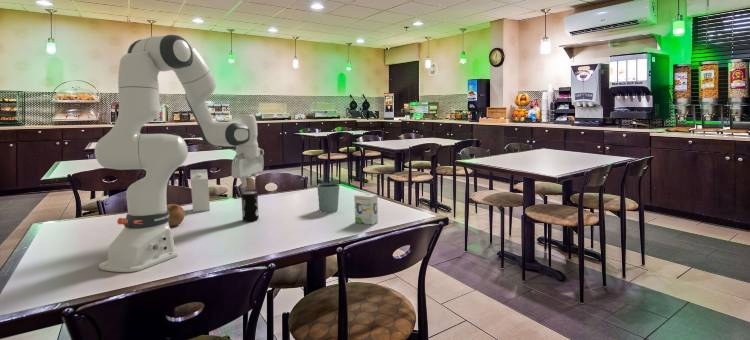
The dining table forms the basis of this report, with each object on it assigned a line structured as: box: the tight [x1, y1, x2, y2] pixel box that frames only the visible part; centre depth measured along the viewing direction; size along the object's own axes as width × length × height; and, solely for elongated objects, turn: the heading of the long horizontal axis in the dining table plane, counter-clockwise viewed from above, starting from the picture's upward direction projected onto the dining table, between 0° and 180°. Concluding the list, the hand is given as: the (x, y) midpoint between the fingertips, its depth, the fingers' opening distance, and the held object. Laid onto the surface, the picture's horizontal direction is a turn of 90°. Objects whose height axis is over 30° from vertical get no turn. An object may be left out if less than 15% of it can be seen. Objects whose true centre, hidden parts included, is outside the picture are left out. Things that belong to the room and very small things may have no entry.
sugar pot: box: [242, 175, 256, 191], centre depth 178 cm, size 5×5×5 cm
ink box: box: [353, 192, 379, 226], centre depth 174 cm, size 9×5×12 cm, turn 62°
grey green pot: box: [316, 183, 340, 213], centre depth 196 cm, size 10×10×12 cm
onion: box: [167, 203, 186, 227], centre depth 172 cm, size 10×9×10 cm
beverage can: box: [241, 190, 260, 223], centre depth 179 cm, size 7×7×12 cm
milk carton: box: [190, 168, 211, 213], centre depth 197 cm, size 7×7×19 cm
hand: (248, 185), depth 178 cm, fingers closed on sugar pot, 5 cm apart
